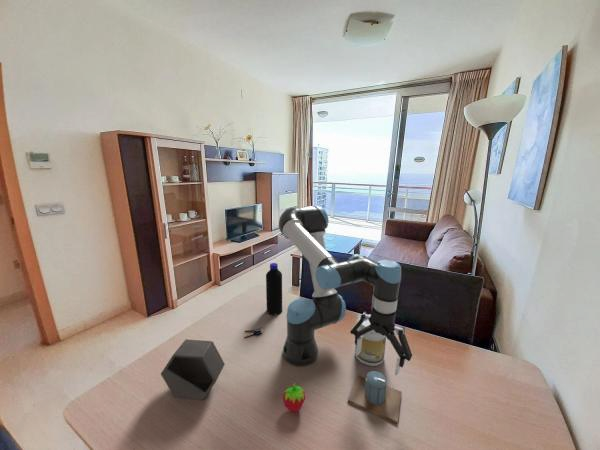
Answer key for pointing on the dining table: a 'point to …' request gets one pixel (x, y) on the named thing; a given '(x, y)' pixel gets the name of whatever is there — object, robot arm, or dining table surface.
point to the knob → (375, 387)
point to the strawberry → (294, 398)
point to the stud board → (383, 410)
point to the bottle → (274, 290)
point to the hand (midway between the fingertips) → (376, 362)
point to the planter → (193, 369)
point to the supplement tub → (371, 346)
